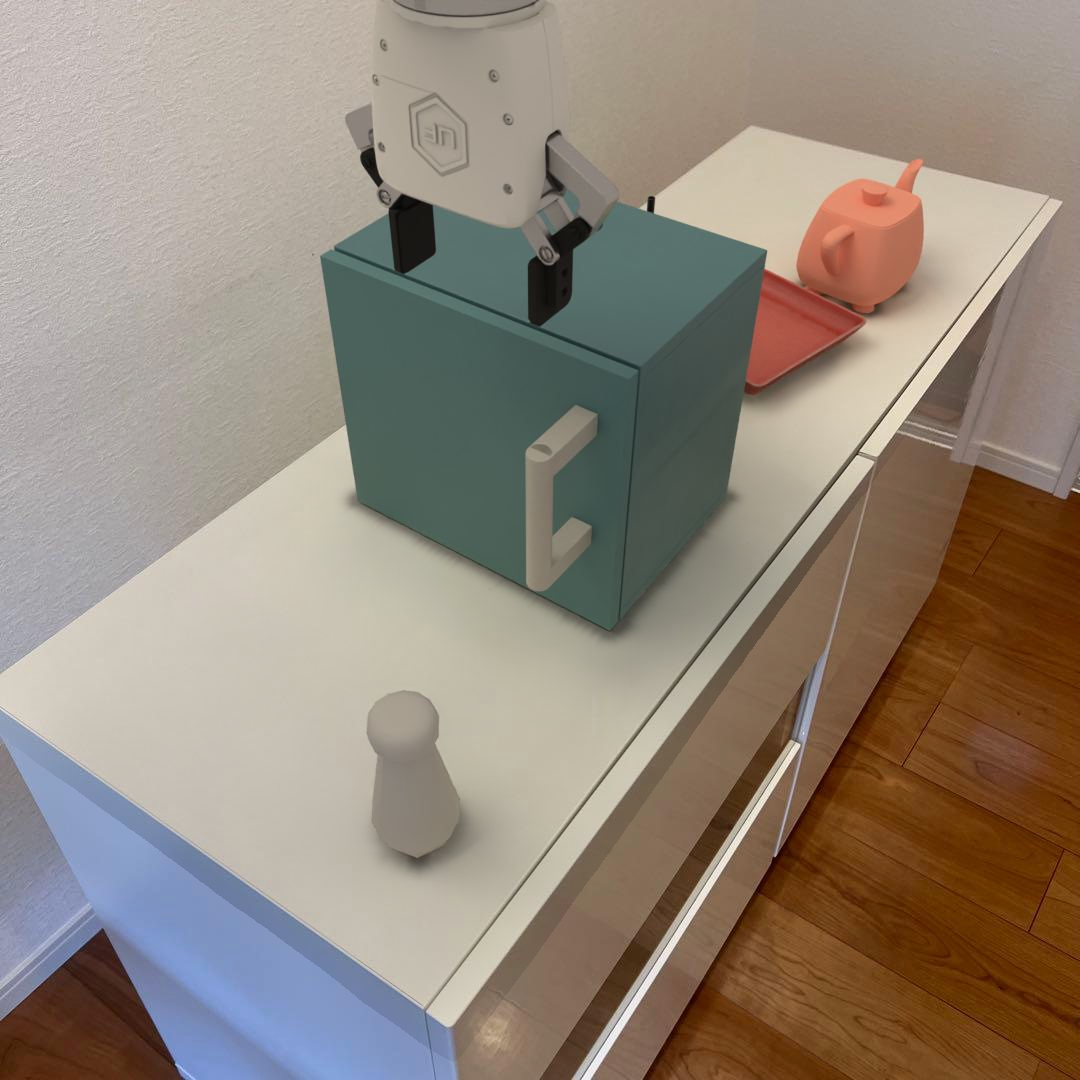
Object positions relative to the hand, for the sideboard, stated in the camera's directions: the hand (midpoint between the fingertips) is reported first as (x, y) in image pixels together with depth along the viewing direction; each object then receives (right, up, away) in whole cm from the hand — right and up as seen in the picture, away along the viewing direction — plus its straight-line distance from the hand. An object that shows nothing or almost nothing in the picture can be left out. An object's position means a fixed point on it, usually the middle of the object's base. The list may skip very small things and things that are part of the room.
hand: (480, 288), depth 63 cm
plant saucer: (+25, +6, +51) cm, 57 cm away
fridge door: (-3, -18, +26) cm, 32 cm away
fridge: (+4, -11, +33) cm, 35 cm away
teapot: (+39, +14, +59) cm, 72 cm away
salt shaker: (-5, -34, +10) cm, 36 cm away
